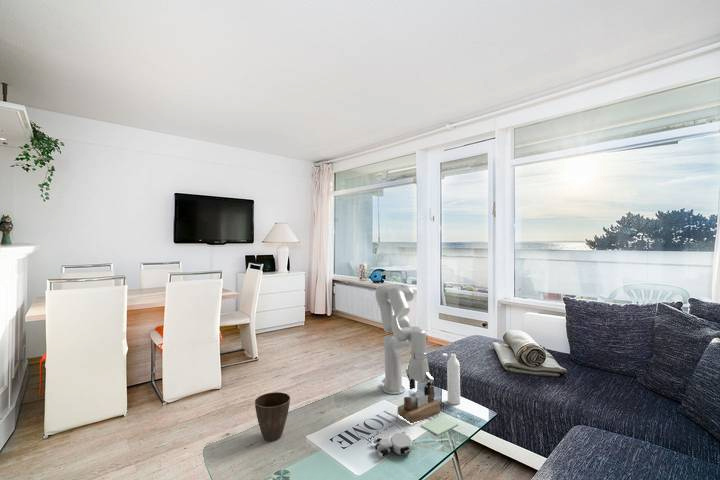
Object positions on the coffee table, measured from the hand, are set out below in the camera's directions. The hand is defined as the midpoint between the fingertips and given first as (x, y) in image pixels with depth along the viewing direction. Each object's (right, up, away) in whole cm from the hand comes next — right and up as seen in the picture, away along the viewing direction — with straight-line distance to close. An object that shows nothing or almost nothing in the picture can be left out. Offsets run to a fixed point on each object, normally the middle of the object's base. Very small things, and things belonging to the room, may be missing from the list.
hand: (419, 391), depth 164 cm
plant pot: (-67, -12, -17) cm, 70 cm away
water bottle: (+19, -12, +14) cm, 27 cm away
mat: (+7, -11, -10) cm, 17 cm away
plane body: (0, -12, 0) cm, 12 cm away
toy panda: (-15, -11, -28) cm, 34 cm away
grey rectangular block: (0, -7, 0) cm, 7 cm away
